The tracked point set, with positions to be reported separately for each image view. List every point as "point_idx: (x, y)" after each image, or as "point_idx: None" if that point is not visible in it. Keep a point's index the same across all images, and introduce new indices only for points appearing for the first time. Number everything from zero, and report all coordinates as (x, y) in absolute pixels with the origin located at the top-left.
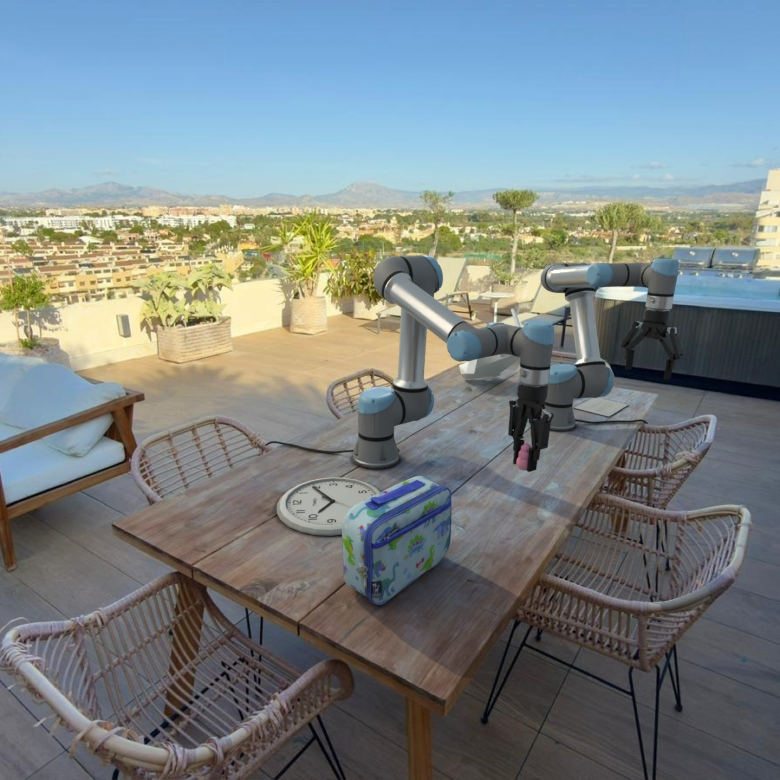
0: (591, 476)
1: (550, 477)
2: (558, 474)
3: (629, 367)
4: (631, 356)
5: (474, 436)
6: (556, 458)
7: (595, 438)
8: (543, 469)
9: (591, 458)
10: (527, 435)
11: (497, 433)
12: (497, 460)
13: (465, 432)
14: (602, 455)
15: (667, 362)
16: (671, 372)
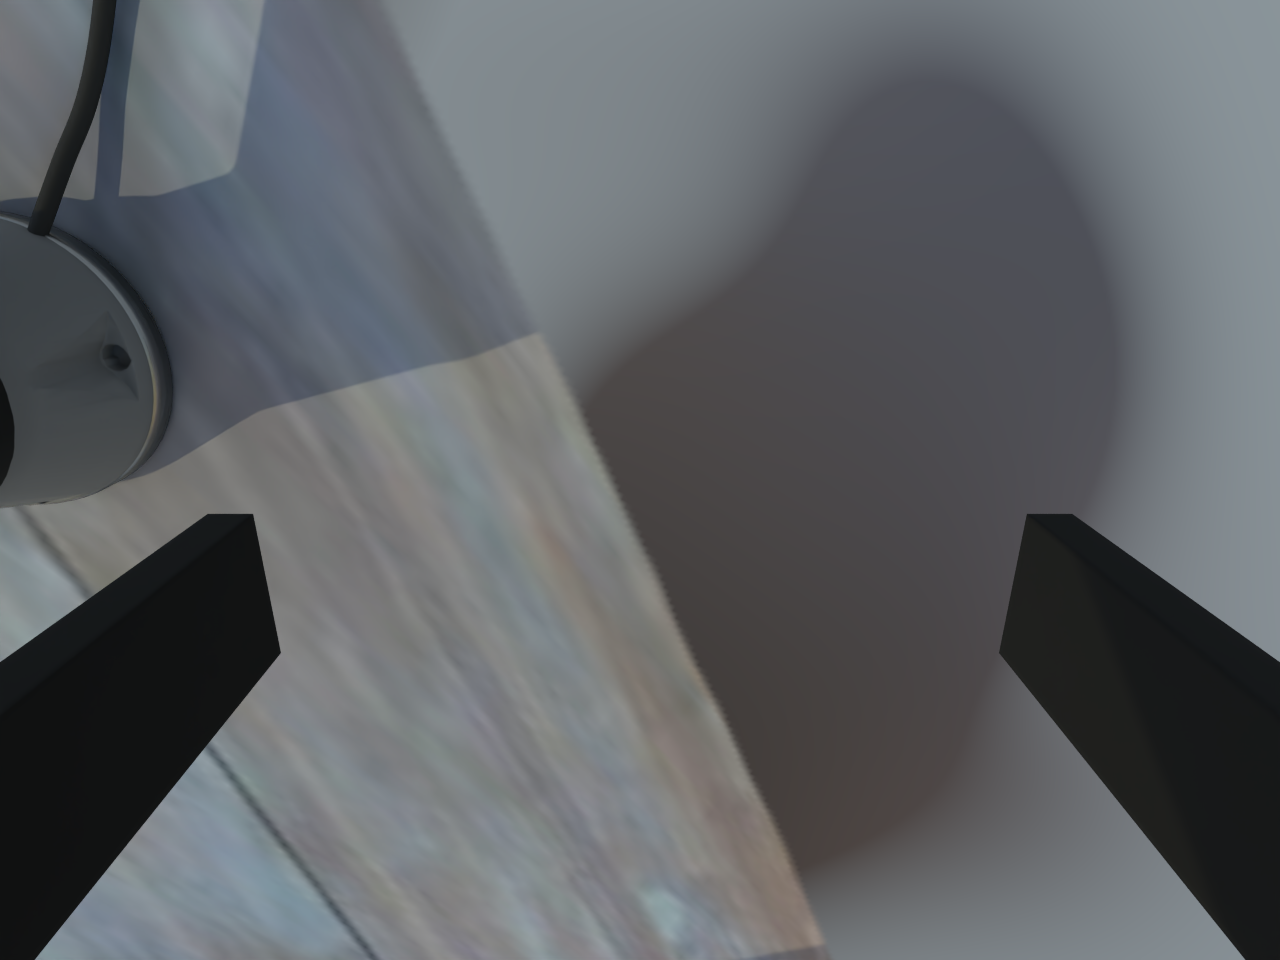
0: (698, 743)
1: (609, 874)
2: (606, 834)
3: (246, 610)
4: (80, 773)
5: None
6: (476, 730)
7: (351, 325)
8: (538, 848)
9: (561, 593)
10: None
11: None
12: (376, 930)
13: None
14: (563, 512)
15: (1267, 947)
16: (1154, 581)
